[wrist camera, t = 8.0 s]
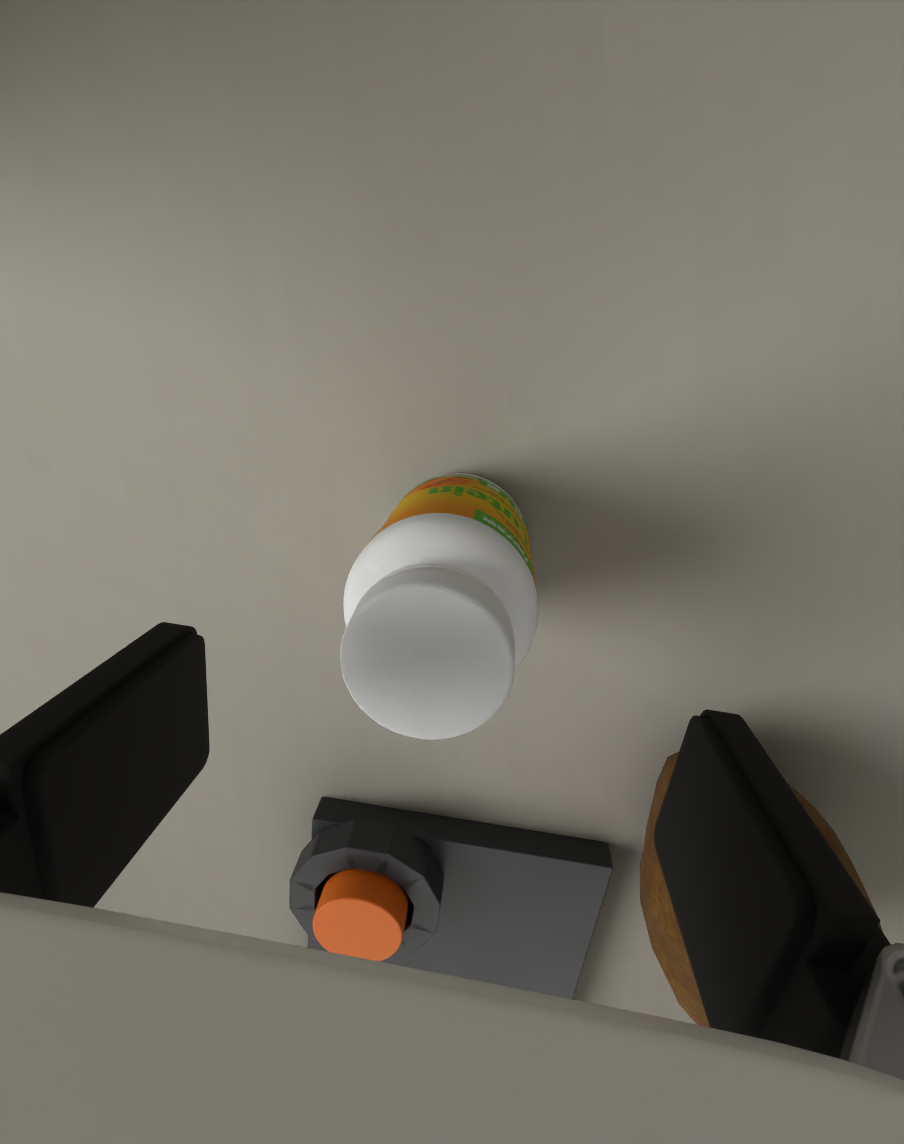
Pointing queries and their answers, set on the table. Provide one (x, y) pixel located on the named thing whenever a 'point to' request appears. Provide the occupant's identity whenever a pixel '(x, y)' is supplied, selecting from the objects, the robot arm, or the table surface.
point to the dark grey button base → (466, 892)
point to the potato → (661, 910)
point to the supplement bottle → (440, 609)
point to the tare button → (361, 915)
